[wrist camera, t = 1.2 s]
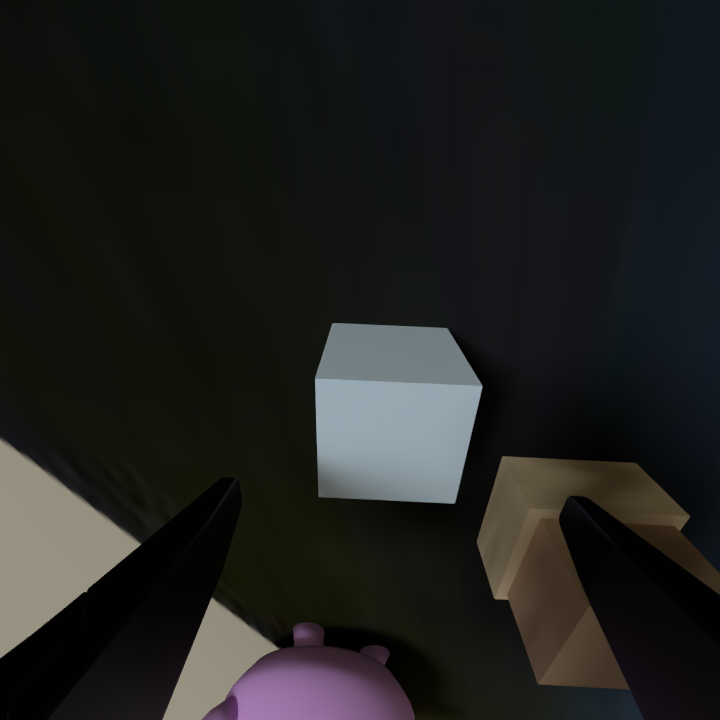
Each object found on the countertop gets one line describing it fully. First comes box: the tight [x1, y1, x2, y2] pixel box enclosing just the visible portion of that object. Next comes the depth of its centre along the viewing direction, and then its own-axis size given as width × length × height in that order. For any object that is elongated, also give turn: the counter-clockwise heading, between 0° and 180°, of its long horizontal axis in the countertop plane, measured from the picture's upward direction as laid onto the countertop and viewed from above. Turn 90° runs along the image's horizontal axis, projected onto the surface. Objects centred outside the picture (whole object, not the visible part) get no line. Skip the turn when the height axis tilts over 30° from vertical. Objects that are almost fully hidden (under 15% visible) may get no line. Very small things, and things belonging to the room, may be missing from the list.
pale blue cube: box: [315, 323, 483, 504], centre depth 13 cm, size 5×5×5 cm
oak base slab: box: [477, 456, 690, 600], centre depth 17 cm, size 7×7×4 cm
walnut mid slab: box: [507, 518, 720, 689], centre depth 14 cm, size 6×6×4 cm
